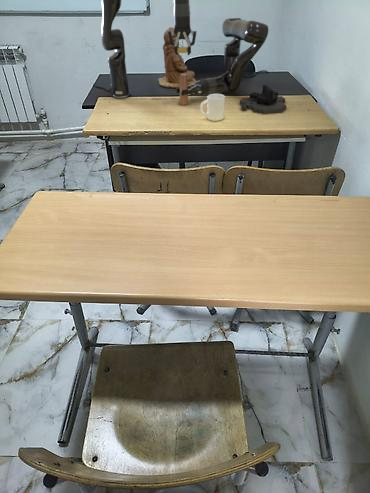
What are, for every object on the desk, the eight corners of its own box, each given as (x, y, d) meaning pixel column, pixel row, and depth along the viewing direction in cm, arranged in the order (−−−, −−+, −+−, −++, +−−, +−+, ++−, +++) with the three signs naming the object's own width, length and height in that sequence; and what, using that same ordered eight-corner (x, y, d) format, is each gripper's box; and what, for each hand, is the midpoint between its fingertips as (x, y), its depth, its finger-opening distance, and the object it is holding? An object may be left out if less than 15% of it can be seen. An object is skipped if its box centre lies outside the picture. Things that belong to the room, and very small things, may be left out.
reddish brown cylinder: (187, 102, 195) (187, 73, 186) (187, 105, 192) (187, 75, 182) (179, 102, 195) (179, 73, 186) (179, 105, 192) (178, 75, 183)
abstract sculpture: (248, 96, 172) (237, 84, 187) (247, 115, 178) (235, 102, 193) (298, 91, 175) (282, 80, 190) (294, 110, 181) (280, 98, 196)
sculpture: (197, 88, 213) (196, 30, 194) (156, 89, 214) (152, 31, 194) (196, 75, 234) (196, 22, 215) (159, 76, 235) (156, 23, 215)
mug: (201, 122, 172) (201, 100, 166) (198, 116, 178) (198, 94, 172) (225, 120, 173) (226, 98, 167) (221, 114, 180) (222, 93, 173)
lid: (176, 52, 176) (175, 49, 175) (179, 50, 180) (179, 46, 179) (186, 53, 175) (186, 49, 174) (189, 50, 179) (189, 47, 178)
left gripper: (165, 15, 165) (167, 56, 176) (195, 15, 163) (196, 56, 174) (168, 13, 171) (170, 52, 182) (198, 13, 169) (198, 53, 180)
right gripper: (199, 75, 197) (172, 81, 191) (213, 82, 187) (185, 87, 181) (199, 90, 202) (173, 95, 196) (213, 97, 192) (185, 103, 186)
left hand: (182, 54), depth 178 cm, fingers closed on lid, 5 cm apart
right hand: (179, 91), depth 188 cm, fingers closed on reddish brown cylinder, 4 cm apart
